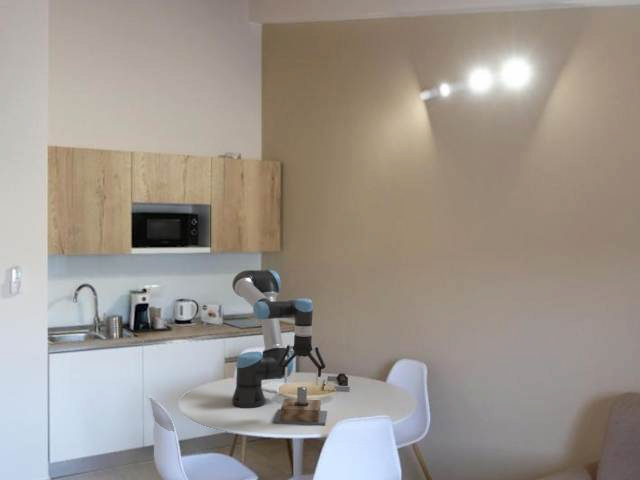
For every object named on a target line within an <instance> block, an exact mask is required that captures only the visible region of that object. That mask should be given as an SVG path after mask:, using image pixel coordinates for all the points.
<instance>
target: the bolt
mask: <svg viewBox="0 0 640 480" xmlns="http://www.w3.org/2000/svg"><path fill="white" fill-rule="evenodd" d="M336 376H337V378H336V379H337V381H336V382H338V386H348V382H347V377H346V374H345V373H338V374H337V375H336Z"/></svg>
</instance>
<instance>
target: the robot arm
mask: <svg viewBox="0 0 640 480" xmlns="http://www.w3.org/2000/svg"><path fill="white" fill-rule="evenodd" d="M281 282H282V281H281V278H280V275H279V274H278V272H277V271H275V270H271V269H255V270H254V269H252V270H249V269H248V270H242V271H241V272H238V273H237V274H236V275H235V277H234V278H233V280H232V289H233V292H234V293H235V294H236V295H237V296H238V297H242V298H243V299H244V300H245V301H246V302H247V303H248V305H250V306H251V307H252V311H253V315H254V318H255V319H257V320H260V322H261V329H262V335H263V343H264V349H263V351H247V352H244V353H240V354H239V355H238V356H237V358H236V364H235V365H236V377H235V378H236V380H235V381H236V383H235V385H236V386H235V390H234V392H233V395H232V399H231V404H232V405H233V406H235V407H239V408H245V409H246V408H248V409H249V408H250V409H252V408H258V407H259V408H260V407H262V406H264V405H265V403H266V398H265V394H264V391H262V387H261V385H262V384H263V383H262V381H268V380H282V379H284V381H285V383H287V381H288V378H289V377H290V376H291V374H292V373H293V372H292V371H293V369H294V359H295V357H303V358H306V357H308V359H310V361H311V362H312V363H313V364H314V366H315V367H316V374H315V386H318V385H319V378H321V376H322V370H324V369H325V368H326V363H325V362H324V360H323V357H322V355H321V353H320V350H319V349H320V347H319V346H318V345H316V346H312V334H313V313H314V312H313V310H314V307H313V304H314V303H313V300H312V299H310V298H297V299H287V300H278V301H277V300H276V299H277V297H278V295H279V293H280V292H281V289H282V288H281V285H282V283H281ZM280 319H294V336H293V339H294V340H293V345H290V344H287V345H286V347H285V346H284V345H283V337H282V331H281V325H280ZM292 350H293V351H294V353H293V354H292V353H291V352H290V351H292ZM312 351H313V352H314V353H315V354H316V356H317V359H318V361H319V362H318V361H317V359H316V358H315V357H314V356H313V354H312V353H311V352H312Z"/></svg>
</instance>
